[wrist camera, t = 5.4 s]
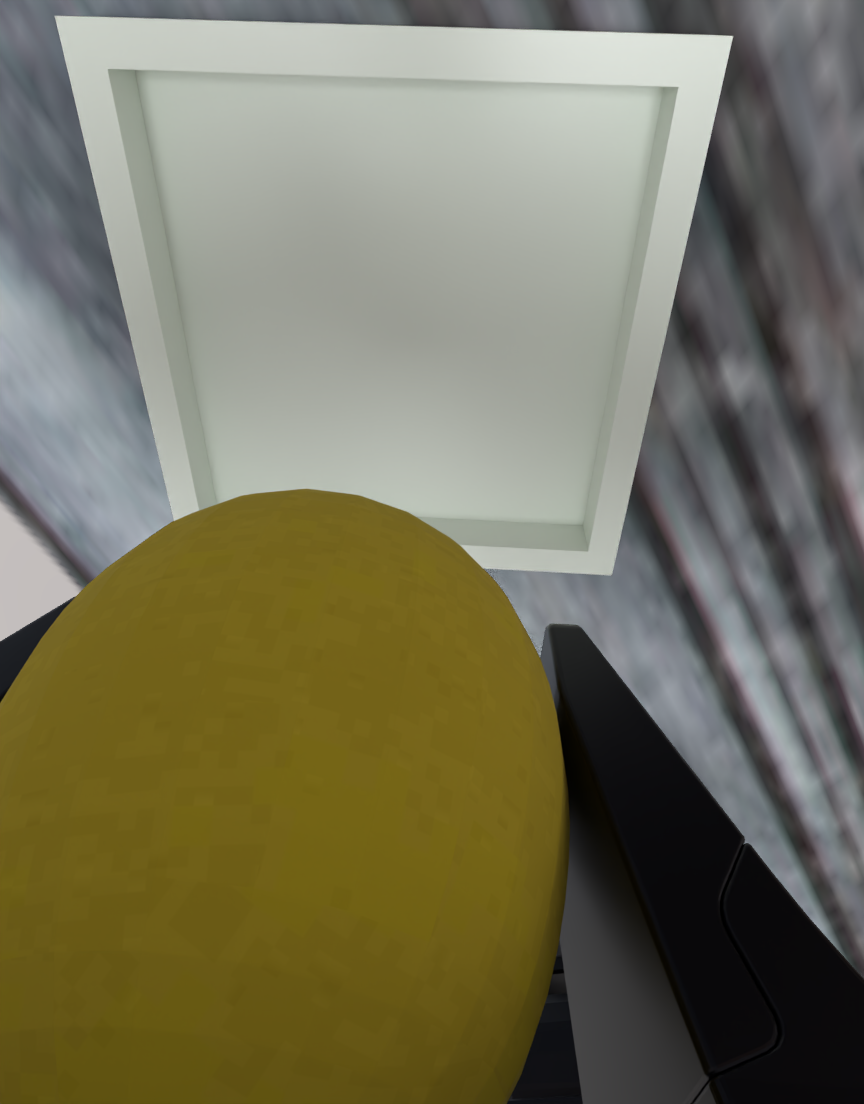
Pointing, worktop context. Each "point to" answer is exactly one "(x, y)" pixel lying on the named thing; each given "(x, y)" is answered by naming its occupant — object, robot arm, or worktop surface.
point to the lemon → (280, 821)
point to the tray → (400, 260)
